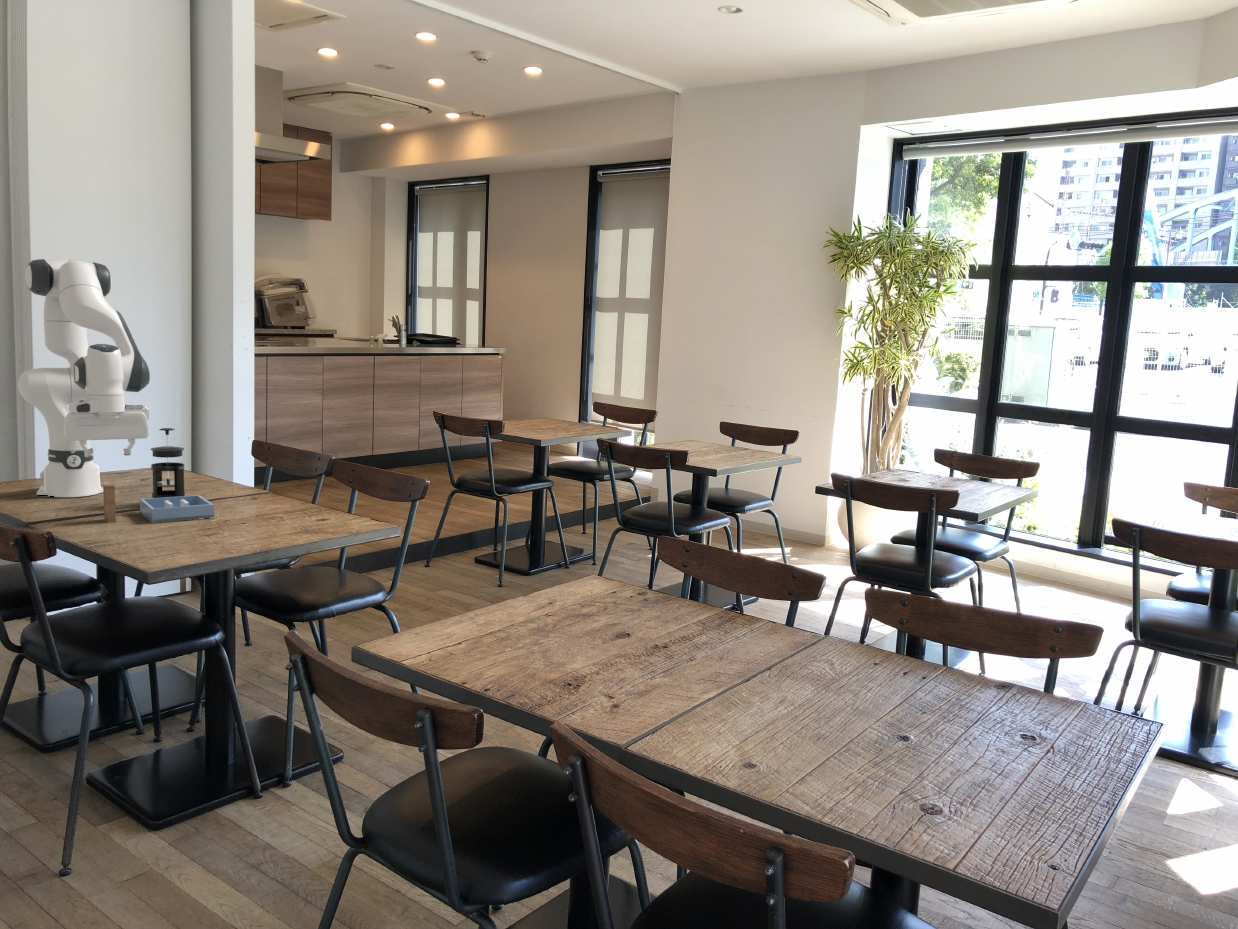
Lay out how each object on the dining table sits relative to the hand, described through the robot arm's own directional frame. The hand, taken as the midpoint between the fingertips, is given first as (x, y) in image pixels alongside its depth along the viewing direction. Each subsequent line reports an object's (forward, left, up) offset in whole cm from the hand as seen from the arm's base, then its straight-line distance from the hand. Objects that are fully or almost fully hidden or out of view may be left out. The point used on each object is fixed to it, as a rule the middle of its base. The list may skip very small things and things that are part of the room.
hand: (108, 456), depth 250 cm
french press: (-18, +19, -18) cm, 32 cm away
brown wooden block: (0, 0, -18) cm, 18 cm away
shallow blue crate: (0, +17, -18) cm, 25 cm away
